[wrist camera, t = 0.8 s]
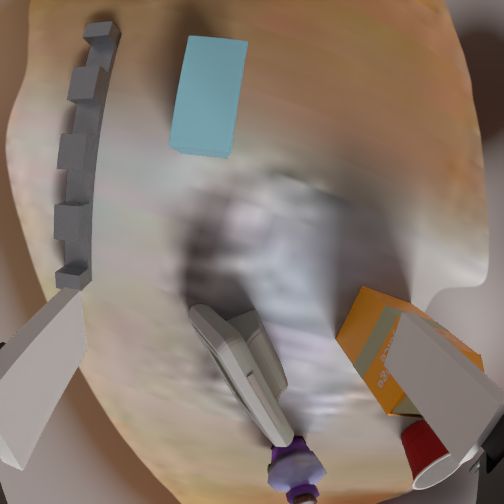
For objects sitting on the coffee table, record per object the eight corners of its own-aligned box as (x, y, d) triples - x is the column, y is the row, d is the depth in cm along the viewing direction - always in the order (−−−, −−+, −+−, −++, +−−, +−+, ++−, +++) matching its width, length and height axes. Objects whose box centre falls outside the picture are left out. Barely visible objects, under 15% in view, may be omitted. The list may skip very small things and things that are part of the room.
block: (196, 70, 27) (189, 35, 19) (239, 75, 28) (248, 41, 19) (182, 153, 29) (168, 145, 21) (226, 158, 30) (230, 152, 21)
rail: (97, 35, 24) (86, 23, 21) (121, 33, 25) (112, 21, 22) (69, 277, 31) (56, 287, 28) (91, 280, 31) (79, 291, 28)
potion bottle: (249, 450, 40) (259, 512, 29) (291, 421, 39) (311, 484, 28) (286, 466, 42) (301, 521, 31) (325, 439, 42) (349, 495, 30)
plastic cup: (390, 425, 43) (420, 472, 31) (439, 401, 44) (473, 441, 32) (385, 457, 46) (409, 499, 34) (430, 435, 46) (458, 472, 35)
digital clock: (184, 297, 33) (173, 349, 23) (265, 280, 34) (286, 326, 23) (219, 405, 37) (223, 465, 27) (286, 391, 38) (305, 449, 28)
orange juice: (385, 351, 38) (467, 448, 19) (334, 339, 37) (412, 456, 17) (412, 301, 37) (515, 382, 17) (361, 283, 35) (472, 377, 16)
